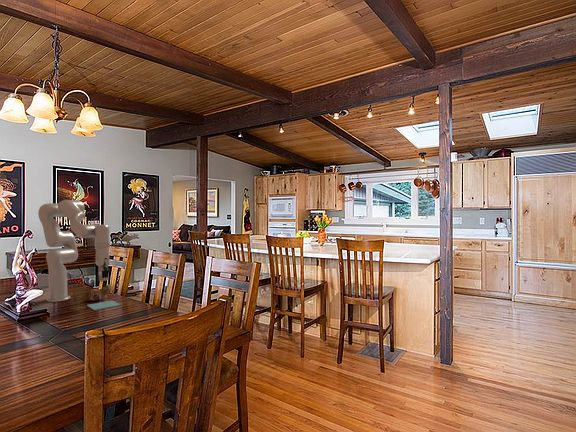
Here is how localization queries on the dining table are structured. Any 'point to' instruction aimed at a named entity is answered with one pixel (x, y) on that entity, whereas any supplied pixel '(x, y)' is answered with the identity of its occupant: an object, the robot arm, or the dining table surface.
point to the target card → (103, 305)
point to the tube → (101, 274)
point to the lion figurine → (100, 292)
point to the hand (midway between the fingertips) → (103, 276)
